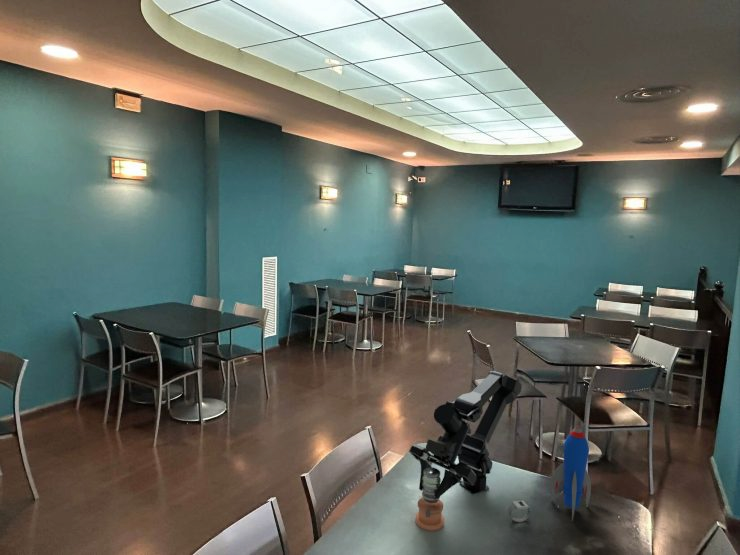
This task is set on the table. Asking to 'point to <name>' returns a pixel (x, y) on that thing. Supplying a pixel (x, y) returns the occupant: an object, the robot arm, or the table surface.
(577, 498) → the toy rocket
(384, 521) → the table surface
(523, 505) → the wristwatch
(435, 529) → the housing
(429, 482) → the grey ribbed cylinder
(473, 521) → the table surface
